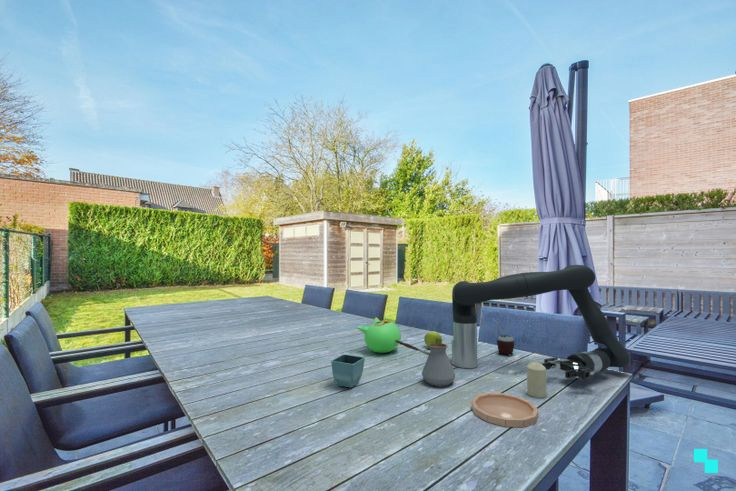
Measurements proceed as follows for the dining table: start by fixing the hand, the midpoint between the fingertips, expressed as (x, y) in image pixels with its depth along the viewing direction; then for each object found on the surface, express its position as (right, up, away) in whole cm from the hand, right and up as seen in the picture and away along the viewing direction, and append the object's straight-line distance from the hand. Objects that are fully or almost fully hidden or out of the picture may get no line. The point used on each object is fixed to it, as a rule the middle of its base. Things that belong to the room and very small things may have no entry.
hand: (553, 371), depth 113 cm
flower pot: (-68, -7, +5) cm, 68 cm away
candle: (-8, -6, -4) cm, 11 cm away
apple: (-30, -7, +48) cm, 58 cm away
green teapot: (-55, -8, +44) cm, 71 cm away
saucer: (-23, -6, -16) cm, 28 cm away
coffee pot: (-41, -7, +7) cm, 42 cm away
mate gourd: (-1, -7, +38) cm, 39 cm away
